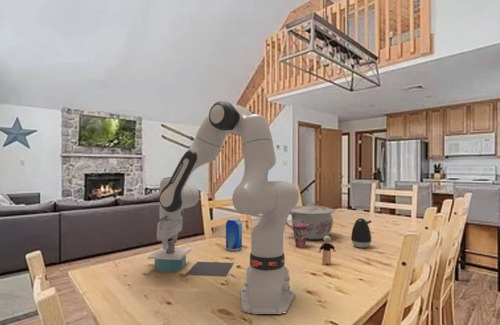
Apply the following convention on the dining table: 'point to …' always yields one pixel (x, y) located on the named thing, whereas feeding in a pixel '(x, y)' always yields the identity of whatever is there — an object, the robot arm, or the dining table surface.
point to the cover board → (169, 256)
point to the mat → (210, 269)
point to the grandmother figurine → (326, 251)
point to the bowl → (170, 264)
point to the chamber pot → (313, 220)
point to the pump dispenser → (361, 233)
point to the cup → (300, 234)
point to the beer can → (233, 234)
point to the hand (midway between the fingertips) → (170, 246)
